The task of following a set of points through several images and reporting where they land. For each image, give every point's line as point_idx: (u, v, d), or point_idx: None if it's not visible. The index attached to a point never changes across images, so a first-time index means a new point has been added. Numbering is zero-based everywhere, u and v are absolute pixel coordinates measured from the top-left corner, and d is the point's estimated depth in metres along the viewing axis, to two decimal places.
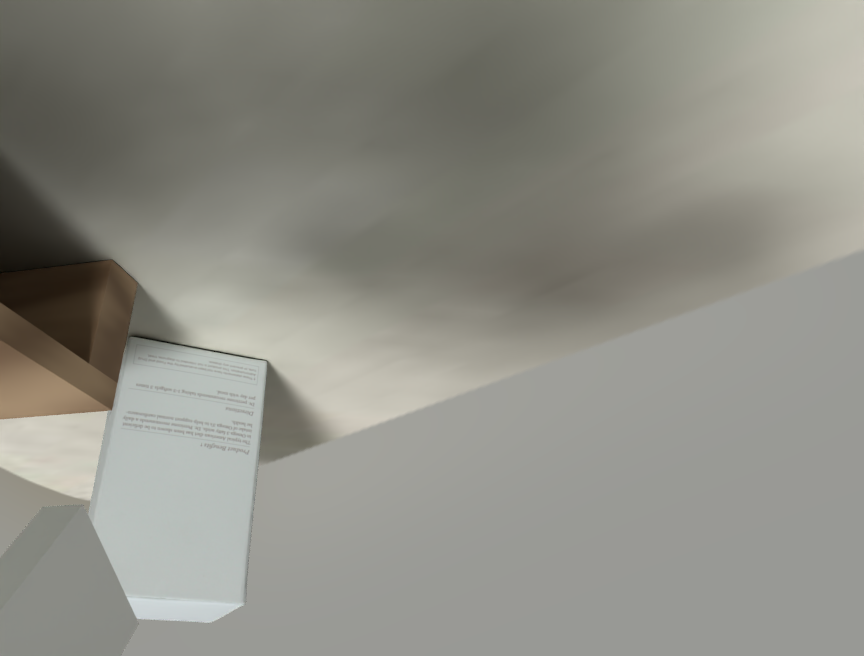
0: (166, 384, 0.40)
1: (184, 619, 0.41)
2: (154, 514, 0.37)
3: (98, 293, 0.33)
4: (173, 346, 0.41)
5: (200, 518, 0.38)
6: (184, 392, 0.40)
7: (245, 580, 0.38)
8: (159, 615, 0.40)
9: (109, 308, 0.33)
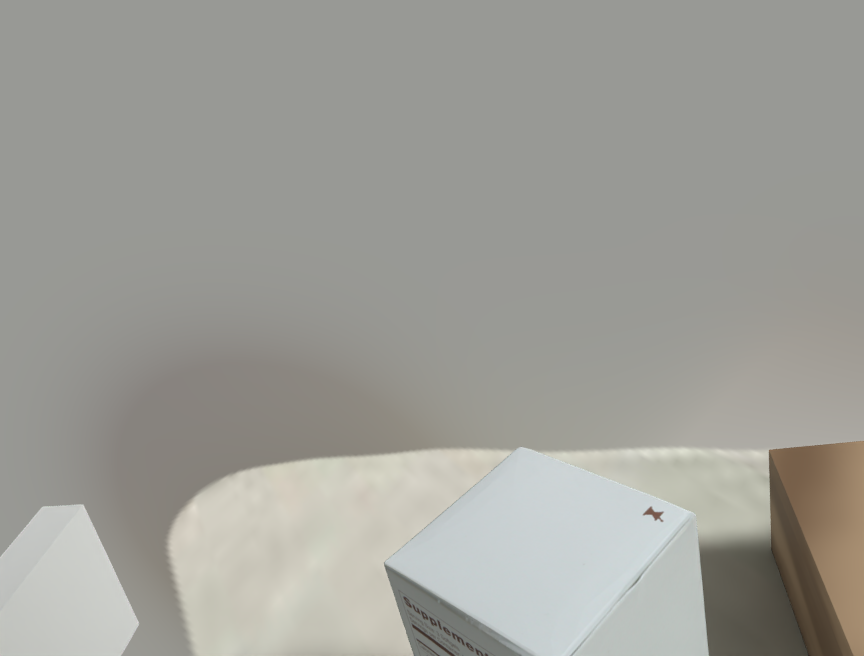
0: None
1: (449, 547, 0.26)
2: (667, 651, 0.25)
3: None
4: None
5: None
6: None
7: None
8: (508, 534, 0.26)
9: None
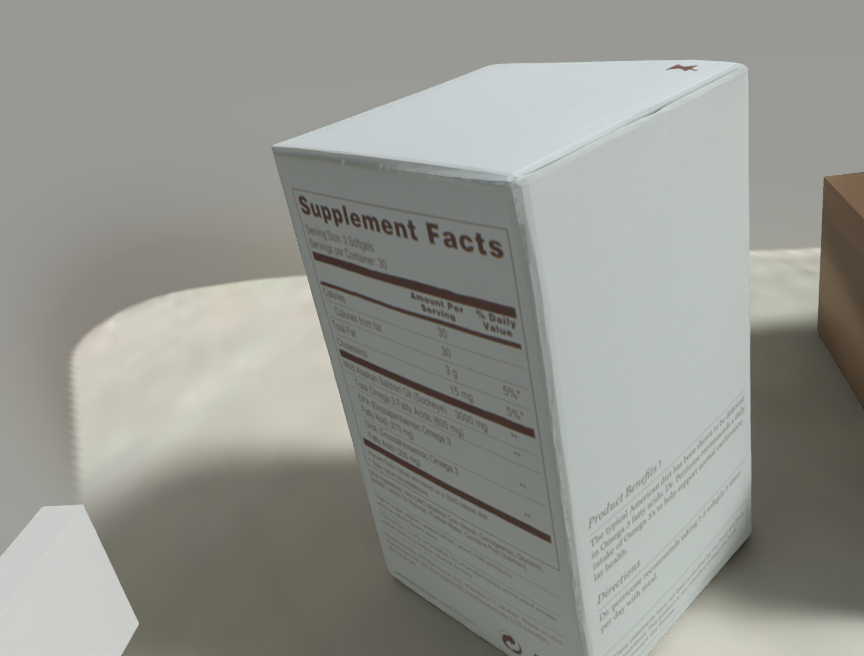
0: (713, 512, 0.19)
1: (370, 122, 0.17)
2: (693, 278, 0.16)
3: None
4: (712, 577, 0.20)
5: (636, 323, 0.15)
6: (693, 525, 0.19)
7: (527, 243, 0.13)
8: (459, 104, 0.17)
9: None
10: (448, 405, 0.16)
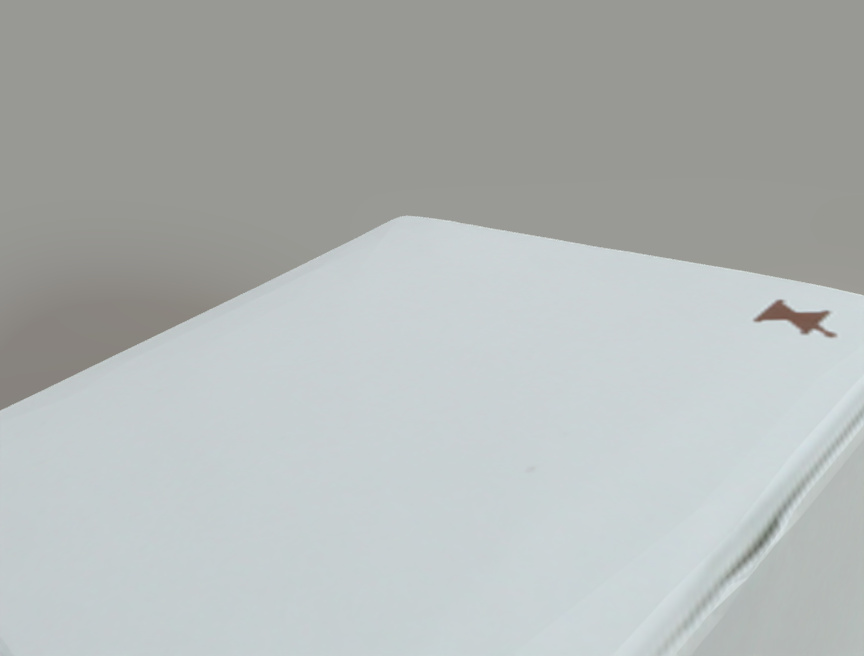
0: None
1: (92, 421, 0.08)
2: None
3: None
4: None
5: None
6: None
7: None
8: (289, 383, 0.08)
9: None
10: None
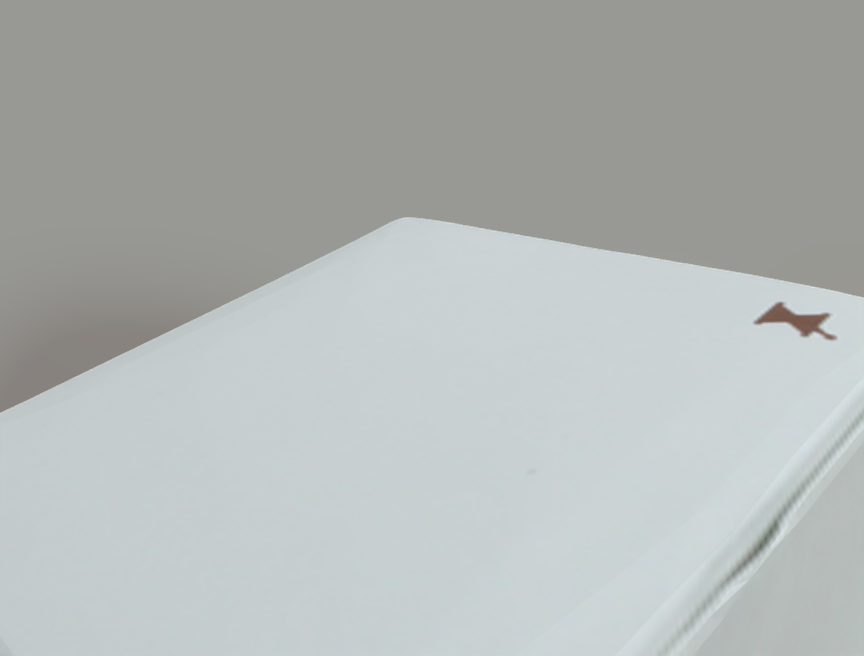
0: None
1: (94, 423, 0.08)
2: None
3: None
4: None
5: None
6: None
7: None
8: (290, 385, 0.08)
9: None
10: None
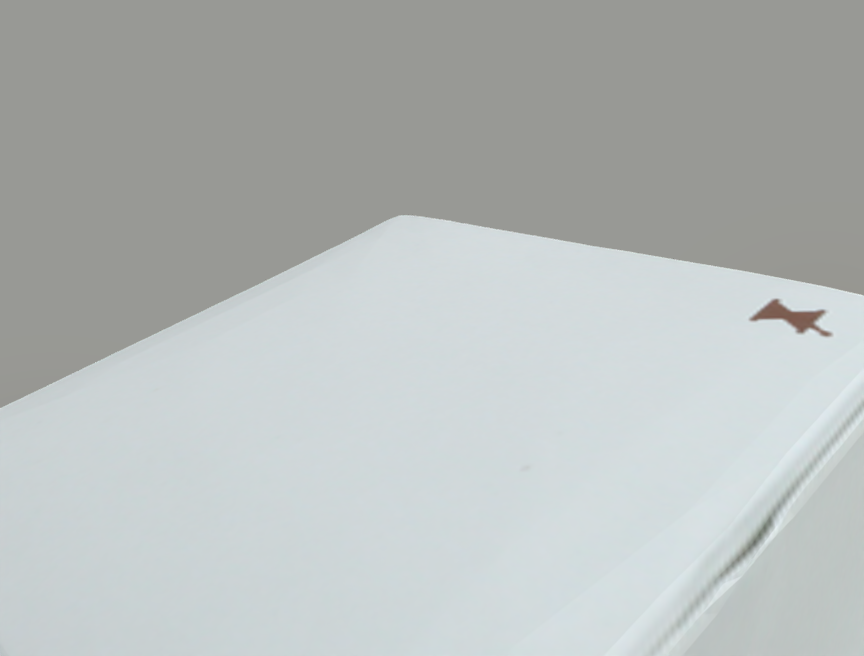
0: None
1: (88, 421, 0.08)
2: None
3: None
4: None
5: None
6: None
7: None
8: (285, 383, 0.08)
9: None
10: None
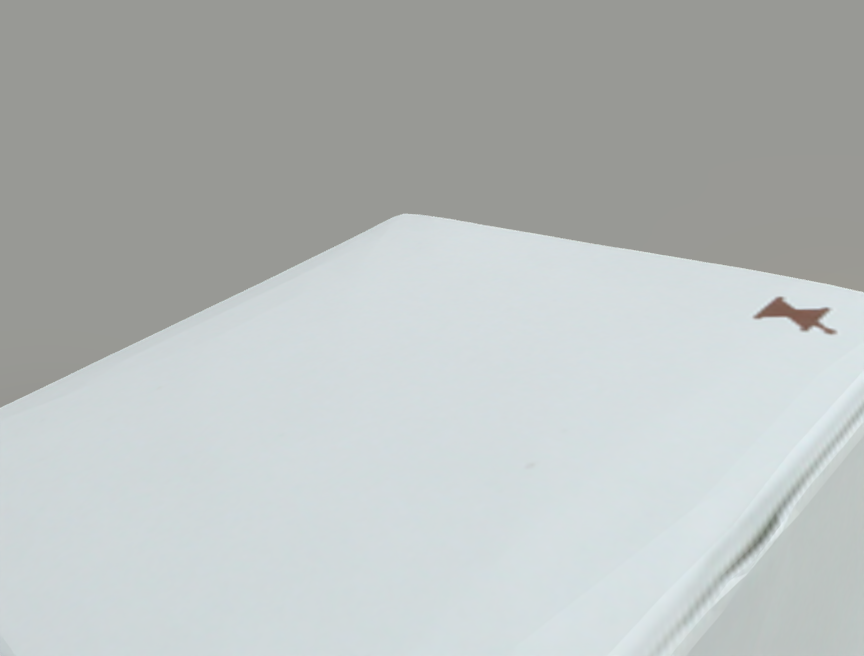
0: None
1: (92, 419, 0.08)
2: None
3: None
4: None
5: None
6: None
7: None
8: (288, 381, 0.08)
9: None
10: None
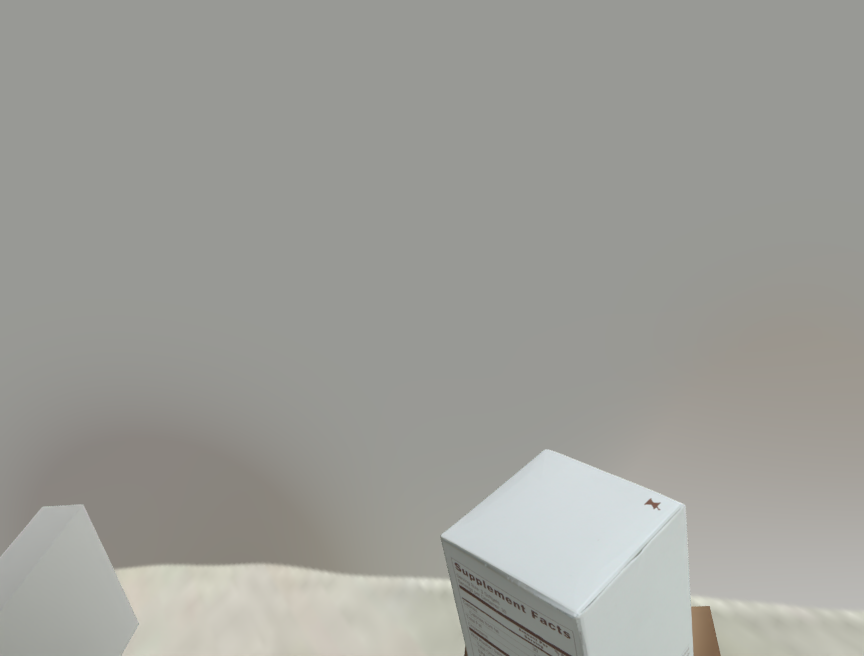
0: None
1: (492, 525, 0.33)
2: (659, 611, 0.32)
3: None
4: None
5: (630, 645, 0.31)
6: None
7: (582, 637, 0.29)
8: (538, 516, 0.33)
9: None
10: None
